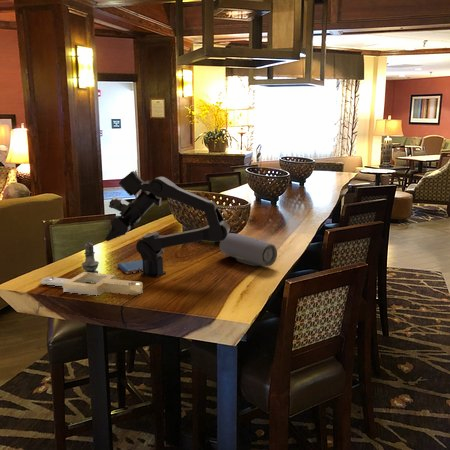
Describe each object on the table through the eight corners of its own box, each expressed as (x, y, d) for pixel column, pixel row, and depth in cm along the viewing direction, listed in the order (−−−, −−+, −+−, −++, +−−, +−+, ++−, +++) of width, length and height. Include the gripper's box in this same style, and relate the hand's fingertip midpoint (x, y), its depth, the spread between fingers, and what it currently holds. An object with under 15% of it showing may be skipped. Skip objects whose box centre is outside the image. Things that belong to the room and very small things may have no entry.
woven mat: (154, 271, 176) (154, 265, 175) (125, 276, 171) (125, 270, 170) (144, 263, 185) (143, 258, 184) (116, 268, 180) (116, 262, 179)
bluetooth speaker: (278, 267, 179) (278, 240, 176) (260, 272, 173) (260, 245, 170) (236, 254, 195) (236, 229, 193) (218, 258, 189) (218, 233, 187)
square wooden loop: (150, 287, 158) (149, 278, 158) (133, 300, 147) (132, 291, 146) (84, 280, 165) (83, 271, 164) (63, 292, 154) (62, 283, 153)
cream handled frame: (116, 283, 162) (116, 279, 161) (97, 296, 151) (97, 291, 150) (53, 277, 168) (52, 272, 168) (30, 288, 157) (30, 284, 157)
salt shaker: (82, 276, 169) (79, 242, 166) (82, 271, 174) (79, 238, 172) (99, 274, 170) (97, 241, 168) (99, 269, 176) (97, 237, 173)
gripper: (129, 185, 174) (101, 215, 177) (115, 193, 156) (83, 226, 159) (152, 207, 175) (123, 236, 179) (140, 217, 157) (108, 250, 160)
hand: (110, 236), depth 169 cm, fingers open, 9 cm apart
